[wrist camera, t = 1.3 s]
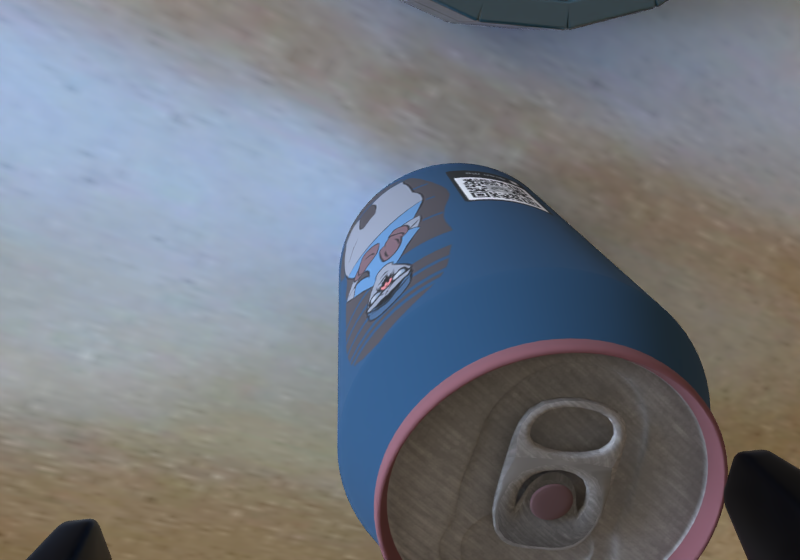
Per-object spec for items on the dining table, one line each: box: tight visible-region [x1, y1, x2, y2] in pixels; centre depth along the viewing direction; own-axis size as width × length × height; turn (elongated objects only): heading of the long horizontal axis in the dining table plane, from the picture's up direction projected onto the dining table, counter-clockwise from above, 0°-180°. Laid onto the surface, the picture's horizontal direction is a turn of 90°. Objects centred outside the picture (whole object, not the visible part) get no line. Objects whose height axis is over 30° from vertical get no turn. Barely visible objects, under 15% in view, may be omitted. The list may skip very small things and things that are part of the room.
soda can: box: [338, 163, 728, 560], centre depth 16 cm, size 7×7×12 cm
